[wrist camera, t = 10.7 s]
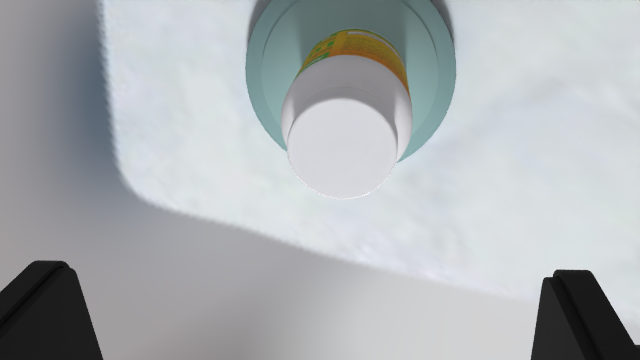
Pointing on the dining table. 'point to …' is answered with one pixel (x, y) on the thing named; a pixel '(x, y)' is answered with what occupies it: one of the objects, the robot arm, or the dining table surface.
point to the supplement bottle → (347, 114)
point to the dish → (340, 13)
